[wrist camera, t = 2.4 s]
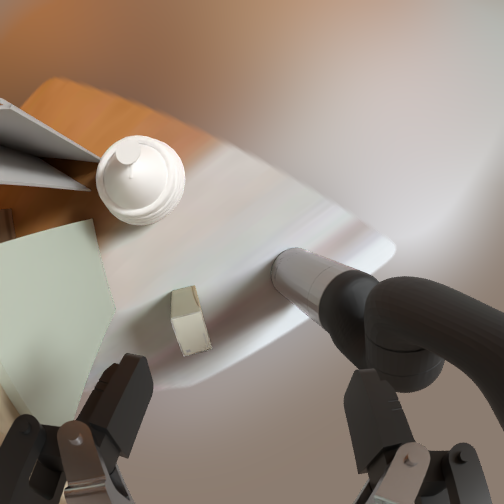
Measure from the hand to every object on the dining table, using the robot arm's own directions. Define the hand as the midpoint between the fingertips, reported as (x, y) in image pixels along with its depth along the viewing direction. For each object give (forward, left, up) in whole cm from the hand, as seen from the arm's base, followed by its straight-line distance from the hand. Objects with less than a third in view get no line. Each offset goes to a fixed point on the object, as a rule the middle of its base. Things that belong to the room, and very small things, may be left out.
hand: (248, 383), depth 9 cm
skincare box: (-3, +10, -37) cm, 39 cm away
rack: (+18, +11, -37) cm, 42 cm away
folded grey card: (+25, -7, -37) cm, 45 cm away
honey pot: (+10, -7, -37) cm, 39 cm away
